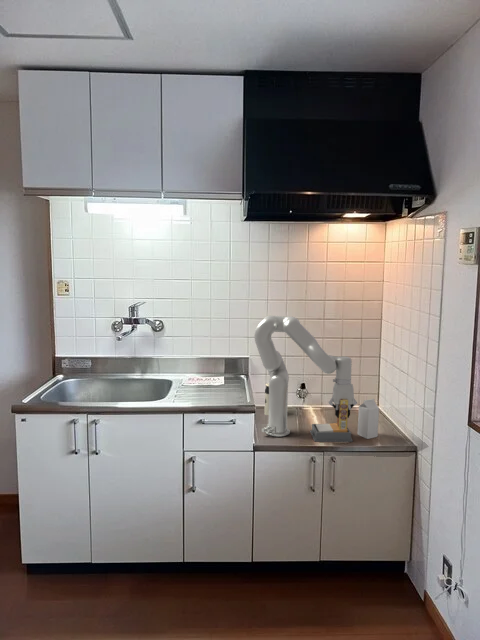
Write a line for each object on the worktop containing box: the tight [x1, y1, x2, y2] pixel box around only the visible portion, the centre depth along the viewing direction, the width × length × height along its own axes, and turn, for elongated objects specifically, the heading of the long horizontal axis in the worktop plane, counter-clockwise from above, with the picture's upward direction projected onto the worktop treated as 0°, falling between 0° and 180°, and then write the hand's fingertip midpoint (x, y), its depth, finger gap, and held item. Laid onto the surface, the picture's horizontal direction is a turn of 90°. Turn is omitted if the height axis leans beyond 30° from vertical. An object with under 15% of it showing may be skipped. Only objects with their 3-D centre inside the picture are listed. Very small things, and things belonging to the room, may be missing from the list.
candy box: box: [336, 399, 349, 429], centre depth 242 cm, size 9×4×15 cm, turn 175°
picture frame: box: [315, 422, 347, 432], centre depth 243 cm, size 14×10×2 cm
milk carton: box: [357, 398, 380, 440], centre depth 244 cm, size 7×7×19 cm
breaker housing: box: [309, 423, 353, 443], centre depth 243 cm, size 19×13×4 cm
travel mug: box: [263, 382, 269, 417], centre depth 276 cm, size 8×8×18 cm
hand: (342, 416), depth 242 cm, fingers closed on candy box, 4 cm apart
